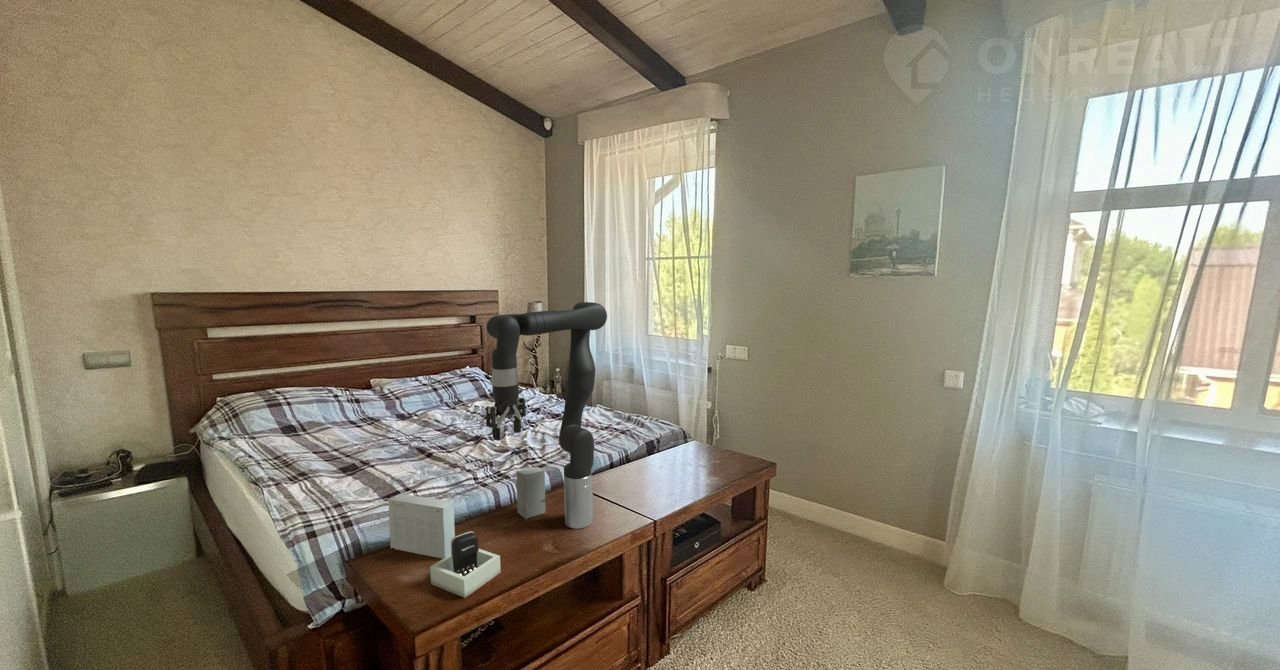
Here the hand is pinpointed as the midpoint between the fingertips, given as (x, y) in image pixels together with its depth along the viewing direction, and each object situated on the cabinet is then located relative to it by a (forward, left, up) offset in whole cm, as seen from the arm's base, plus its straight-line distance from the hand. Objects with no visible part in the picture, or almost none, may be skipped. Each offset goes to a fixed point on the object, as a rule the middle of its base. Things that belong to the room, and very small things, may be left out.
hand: (507, 436), depth 151 cm
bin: (+17, -1, -36) cm, 40 cm away
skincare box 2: (-22, -11, -36) cm, 44 cm away
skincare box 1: (+12, -25, -36) cm, 46 cm away
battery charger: (+17, -1, -35) cm, 39 cm away
